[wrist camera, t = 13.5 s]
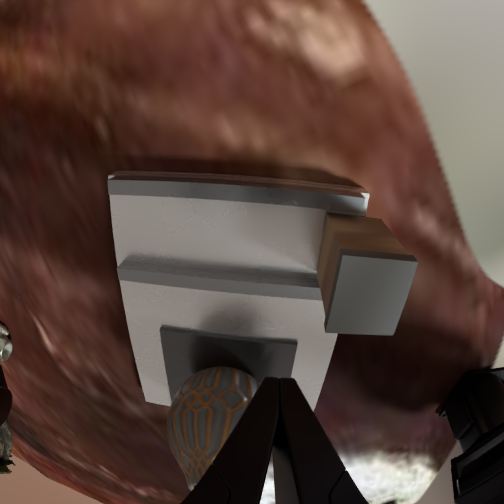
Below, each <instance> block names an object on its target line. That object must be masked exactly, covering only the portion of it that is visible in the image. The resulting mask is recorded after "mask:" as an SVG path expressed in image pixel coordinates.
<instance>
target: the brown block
mask: <svg viewBox="0 0 504 504" xmlns="http://www.w3.org/2000/svg"><path fill="white" fill-rule="evenodd" d="M417 265H418V261H417V260H416V258H415V257H414V256H413V255H408V253H407V252H406V251H405V249H404V248H403V247H402V245H401V244H400V243H399V241H398V240H397V239H396V238H395V236H394V235H393V234H392V232H391V231H390V230H389V229H388V227H387V226H386V225H385V224H384V222H383V221H382V220H381V219H377V218H369V217H361V216H352V215H343V214H334V213H326V219H325V226H324V232H323V239H322V245H321V251H320V257H319V263H318V268H317V276H318V281H319V286H320V291H321V296H322V301H323V307H324V312H325V321H324V329H325V333H338V334H362V335H393V334H394V332H395V329H396V327H397V324H398V321H399V319H400V316H401V313H402V310H403V308H404V305H405V302H406V299H407V296H408V293H409V290H410V287H411V284H412V281H413V278H414V275H415V271H416V268H417Z"/></svg>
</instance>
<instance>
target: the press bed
mask: <svg viewBox="0 0 504 504" xmlns="http://www.w3.org/2000/svg"><path fill="white" fill-rule="evenodd" d="M108 194H109V195H110V207H111V217H112V227H113V236H114V244H115V252H116V259H117V272H118V279H119V280H120V286H121V292H122V298H123V303H124V309H125V314H126V319H127V324H128V329H129V334H130V339H131V343H132V348H133V352H134V356H135V361H136V365H137V369H138V373H139V377H140V381H141V385H142V388H143V392H144V396H145V399H146V401H147V402H151V403H156V404H161V405H167V406H171V403H172V400H173V398H174V396H175V394H176V392H177V391H178V389H179V388H180V387H181V385H182V384H183V383H184V382H185V381H186V380H187V379H188V378H189V377H191V376H192V375H193V374H195V373H197V372H199V371H201V370H204V369H207V368H212V367H219V366H226V367H233V368H236V369H239V370H242V371H244V372H246V373H247V374H249V375H251V376H252V377H254V378H255V379H256V380H257V381H258V382H259V383H261V381H262V379H263V378H264V377H265V376H276V377H279V379H280V378H281V377H292V378H294V379H295V380H296V382H297V383H298V385H299V387H300V389H301V391H302V392H303V394H304V396H305V398H306V400H307V401H308V403H309V405H310V407H311V409H312V410H313V411H314V409H315V406H316V403H317V400H318V397H319V394H320V391H321V388H322V385H323V382H324V378H325V375H326V372H327V369H328V366H329V362H330V359H331V356H332V352H333V349H334V346H335V342H336V339H337V335H338V333H325V329H324V321H325V312H324V307H323V301H322V296H321V291H320V286H319V281H318V276H317V268H318V263H319V257H320V251H321V245H322V239H323V232H324V226H325V219H326V213H334V214H343V215H352V216H361V217H365V216H366V210H367V205H368V199H369V193H368V192H367V191H366V190H365V189H364V188H361V187H354V186H346V185H338V184H329V183H321V182H312V181H302V180H292V179H281V178H270V177H258V176H245V175H230V174H213V173H193V172H165V171H116V172H114V173H112V174H110V175H108Z"/></svg>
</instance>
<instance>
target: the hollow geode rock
mask: <svg viewBox="0 0 504 504" xmlns="http://www.w3.org/2000/svg"><path fill="white" fill-rule="evenodd" d="M12 442H13V441H12V434H11V431H10V428H9V425H8V422H7V419H6V420H5V422H4V423H3V424H2V425H1V426H0V474H5V473H7V474H9V473H11V472H12V471H10V470H9V469H8V467H7V466H6V465H9V464H13V465H14V466H15V464H14V463H13V461H11V460H9V457H12V455H11V454H10V451H12Z"/></svg>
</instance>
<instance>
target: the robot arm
mask: <svg viewBox="0 0 504 504" xmlns="http://www.w3.org/2000/svg"><path fill="white" fill-rule="evenodd" d="M439 417H440V418H448V421H449V423H450V426H451V429H452V432H453V434H454V437H455V439H456V440H459V442H460V445H461V448H462V451H463V454H461V455H459V456H458V457H455V458H453V459H451V473H452V481H453V491H454V503H455V504H504V367H502V368H494V369H486V370H478V371H470V372H467V373H466V374H465V375H464V376H463V378H462V380H461V381H460V383H459V384H458V386H457V387H456V389H455V391H454V392H453V394H452V395H451V397H450V398H449V400H448V401H447V403H446V404H445V406H444V407H443V408H442V410H441V411H440V413H439ZM271 452H273V469H274V486H275V503H276V504H369V503H368V502H367V501H366V499H365V498H364V497H363V495H362V494H361V492H360V491H359V489H358V488H357V486H356V485H355V483H354V481H353V480H352V478H351V476H350V475H349V473H348V471H347V470H345V469H346V468H345V466H344V465H343V463H342V461H341V459H340V458H339V456H338V454H337V452H336V451H335V449H334V447H333V445H332V444H331V442H330V440H329V438H328V437H327V435H326V433H325V431H324V430H323V428H322V426H321V424H320V423H319V421H318V419H317V417H316V416H315V414H314V412H313V410H312V409H311V407H310V405H309V403H308V401H307V400H306V398H305V396H304V394H303V392H302V391H301V389H300V387H299V385H298V383H297V382H296V380H295V379H294V378H292V377H281V378H280V379H279V377H276V376H265V377H264V378H263V379H262V381H261V383H260V385H259V386H258V388H257V390H256V392H255V393H254V395H253V397H252V398H251V400H250V402H249V403H248V405H247V407H246V408H245V410H244V412H243V414H242V415H241V417H240V418H239V420H238V422H237V423H236V425H235V427H234V428H233V430H232V432H231V433H230V435H229V436H228V438H227V440H226V441H225V443H224V444H223V446H222V448H221V449H220V451H219V452H218V454H217V455H216V457H215V459H214V460H213V462H212V464H211V465H210V466H209V467H208V469H207V470H206V472H205V474H204V475H203V476H202V478H201V479H200V480H199V482H198V483H197V485H196V486H195V487H194V489H193V490H192V491H191V492H190V493H189V494H188V496H187V497H186V498H185V499H184V500H183V501H182V502H181V503H180V504H260V500H261V495H262V491H263V487H264V483H265V479H266V474H267V470H268V465H269V461H270V456H271Z"/></svg>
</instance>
